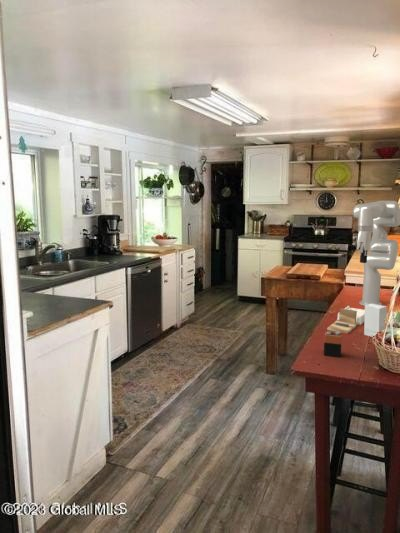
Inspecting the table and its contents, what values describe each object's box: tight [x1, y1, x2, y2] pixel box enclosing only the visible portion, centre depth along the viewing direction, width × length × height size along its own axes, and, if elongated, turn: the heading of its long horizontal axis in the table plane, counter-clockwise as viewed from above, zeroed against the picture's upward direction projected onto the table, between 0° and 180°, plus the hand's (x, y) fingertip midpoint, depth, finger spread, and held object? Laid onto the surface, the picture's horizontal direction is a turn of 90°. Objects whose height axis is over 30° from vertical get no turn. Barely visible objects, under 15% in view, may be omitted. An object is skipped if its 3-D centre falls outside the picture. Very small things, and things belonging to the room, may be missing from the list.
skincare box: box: [363, 304, 388, 338], centre depth 203 cm, size 8×6×15 cm
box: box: [336, 305, 365, 326], centre depth 231 cm, size 18×12×4 cm, turn 144°
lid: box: [326, 308, 359, 334], centre depth 217 cm, size 17×10×8 cm, turn 144°
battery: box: [323, 330, 343, 358], centre depth 180 cm, size 4×7×10 cm, turn 71°
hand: (363, 262), depth 235 cm, fingers closed
